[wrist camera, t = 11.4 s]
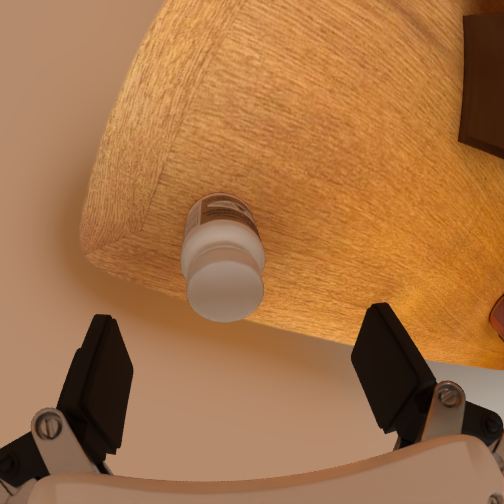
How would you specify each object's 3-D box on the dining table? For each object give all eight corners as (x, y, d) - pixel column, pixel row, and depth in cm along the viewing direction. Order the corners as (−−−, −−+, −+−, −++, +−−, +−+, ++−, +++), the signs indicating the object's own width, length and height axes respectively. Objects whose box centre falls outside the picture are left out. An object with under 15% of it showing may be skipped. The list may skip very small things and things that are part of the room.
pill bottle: (264, 208, 20) (294, 273, 13) (233, 260, 21) (245, 340, 14) (204, 179, 18) (200, 233, 11) (176, 236, 20) (161, 312, 13)
